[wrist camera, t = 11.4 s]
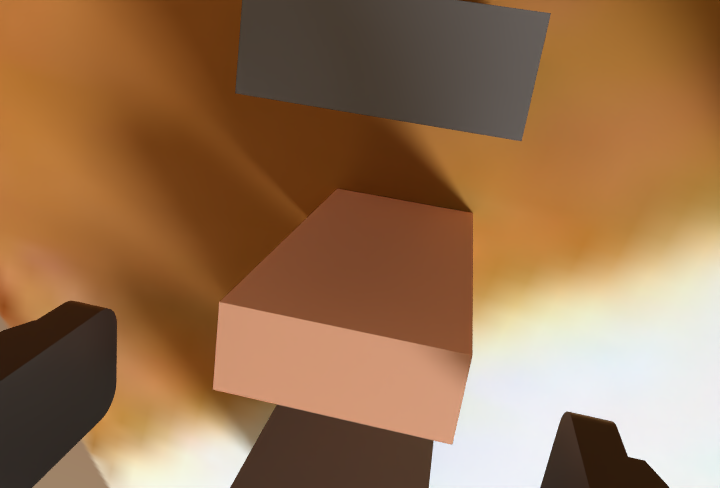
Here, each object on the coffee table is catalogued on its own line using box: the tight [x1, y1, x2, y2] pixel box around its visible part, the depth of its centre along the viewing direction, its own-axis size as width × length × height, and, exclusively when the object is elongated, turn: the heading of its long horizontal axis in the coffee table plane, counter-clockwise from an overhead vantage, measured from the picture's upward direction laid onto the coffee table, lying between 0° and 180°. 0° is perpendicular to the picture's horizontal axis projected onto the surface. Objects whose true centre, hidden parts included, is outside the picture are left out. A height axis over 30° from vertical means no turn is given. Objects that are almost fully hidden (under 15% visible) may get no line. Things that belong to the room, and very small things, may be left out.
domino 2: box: [213, 189, 473, 444], centre depth 17 cm, size 2×5×11 cm, turn 82°
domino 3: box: [230, 404, 433, 488], centre depth 19 cm, size 2×5×11 cm, turn 82°
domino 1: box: [235, 0, 551, 141], centre depth 15 cm, size 2×5×11 cm, turn 82°
